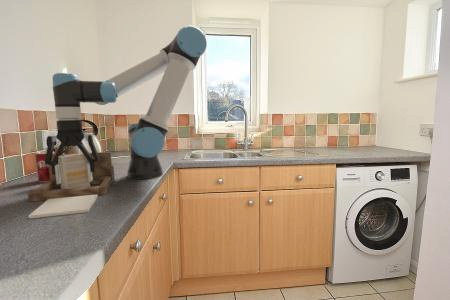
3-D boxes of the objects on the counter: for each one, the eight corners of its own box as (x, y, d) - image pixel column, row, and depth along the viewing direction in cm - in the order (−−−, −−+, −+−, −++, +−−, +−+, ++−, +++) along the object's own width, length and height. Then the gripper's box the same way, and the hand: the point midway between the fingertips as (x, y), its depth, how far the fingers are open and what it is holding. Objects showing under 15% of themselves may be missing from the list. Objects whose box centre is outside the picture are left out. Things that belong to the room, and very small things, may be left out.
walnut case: (115, 180, 104) (112, 151, 103) (107, 194, 85) (105, 159, 83) (52, 185, 97) (48, 154, 96) (29, 201, 78) (24, 164, 77)
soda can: (36, 180, 104) (32, 152, 103) (56, 177, 110) (53, 150, 108) (40, 183, 99) (36, 154, 98) (61, 180, 105) (58, 152, 103)
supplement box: (85, 186, 95) (82, 152, 93) (90, 188, 92) (87, 153, 90) (60, 191, 88) (56, 155, 87) (65, 194, 85) (61, 156, 84)
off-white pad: (97, 196, 82) (97, 194, 82) (88, 211, 69) (88, 209, 69) (48, 201, 78) (48, 199, 78) (28, 218, 65) (28, 215, 65)
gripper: (105, 119, 93) (109, 177, 96) (36, 120, 87) (43, 182, 90) (102, 119, 86) (107, 181, 89) (26, 120, 80) (34, 187, 83)
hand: (75, 182), depth 90 cm, fingers open, 9 cm apart
